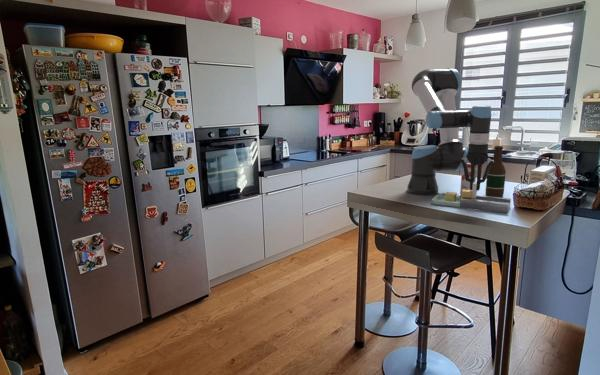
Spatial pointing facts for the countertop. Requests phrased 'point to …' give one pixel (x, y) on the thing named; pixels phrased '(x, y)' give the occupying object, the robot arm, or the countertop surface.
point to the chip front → (466, 194)
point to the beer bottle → (496, 175)
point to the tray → (441, 201)
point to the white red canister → (465, 183)
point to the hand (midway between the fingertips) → (473, 197)
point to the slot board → (487, 203)
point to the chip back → (450, 196)
